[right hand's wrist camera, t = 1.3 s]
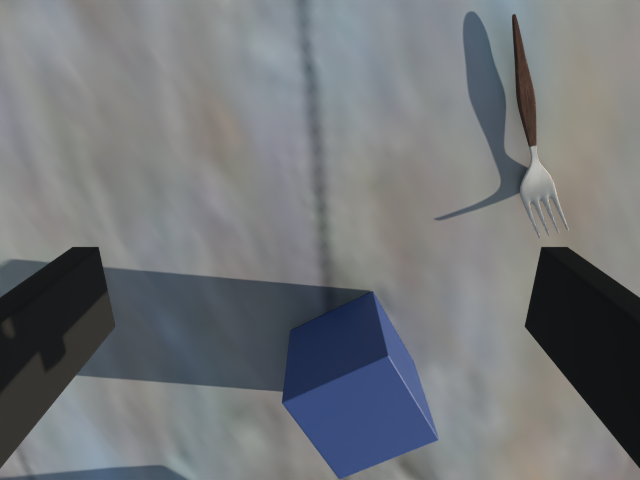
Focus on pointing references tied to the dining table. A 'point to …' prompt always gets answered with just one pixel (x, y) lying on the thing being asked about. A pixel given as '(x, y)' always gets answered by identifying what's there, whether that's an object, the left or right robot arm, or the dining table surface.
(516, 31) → the fork
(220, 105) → the dining table surface
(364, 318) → the block
